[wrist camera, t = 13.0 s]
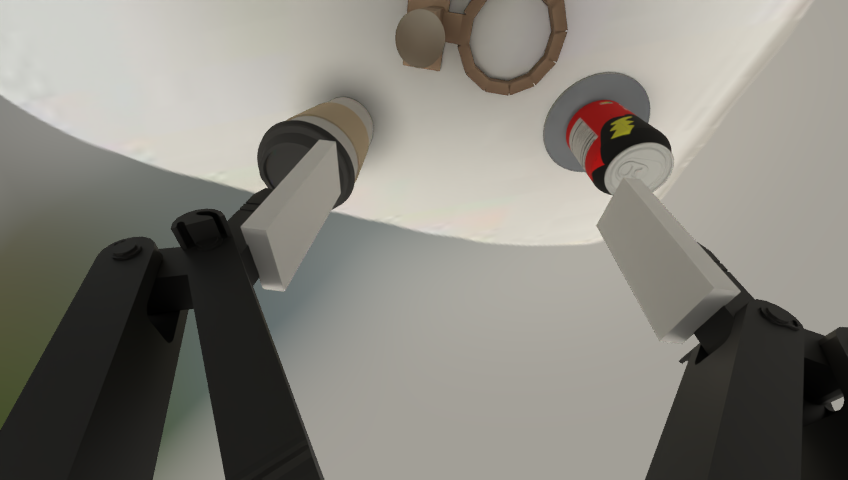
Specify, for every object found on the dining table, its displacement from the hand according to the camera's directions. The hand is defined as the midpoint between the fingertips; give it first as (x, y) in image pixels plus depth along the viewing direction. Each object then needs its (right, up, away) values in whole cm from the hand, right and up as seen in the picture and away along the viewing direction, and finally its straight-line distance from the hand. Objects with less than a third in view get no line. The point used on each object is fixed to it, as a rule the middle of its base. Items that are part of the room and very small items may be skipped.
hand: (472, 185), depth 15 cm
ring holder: (+4, +19, +17) cm, 26 cm away
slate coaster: (+17, +11, +21) cm, 29 cm away
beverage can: (+17, +10, +21) cm, 29 cm away
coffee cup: (-12, +12, +25) cm, 30 cm away
